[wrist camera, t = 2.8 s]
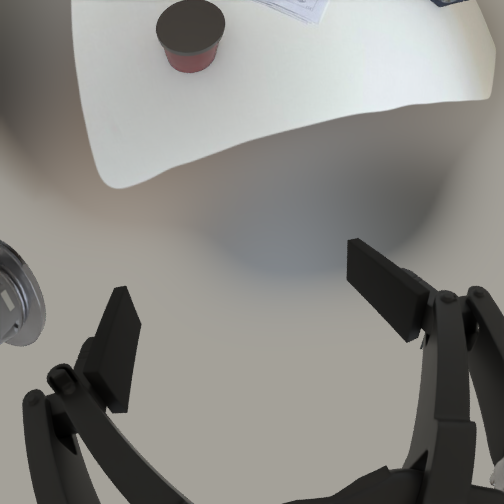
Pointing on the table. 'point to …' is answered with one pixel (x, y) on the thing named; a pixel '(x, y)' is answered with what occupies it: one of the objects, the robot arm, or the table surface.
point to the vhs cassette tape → (446, 2)
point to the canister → (190, 34)
